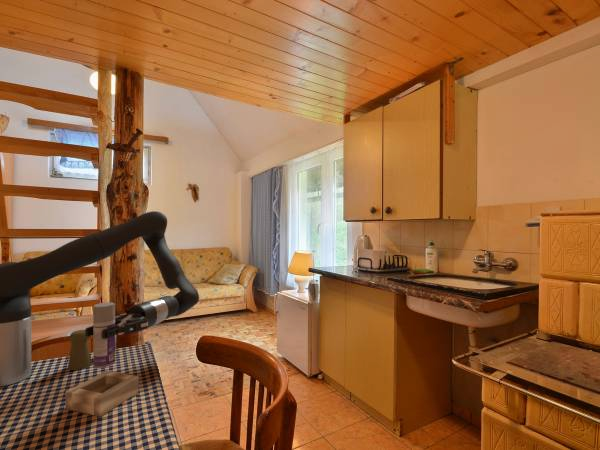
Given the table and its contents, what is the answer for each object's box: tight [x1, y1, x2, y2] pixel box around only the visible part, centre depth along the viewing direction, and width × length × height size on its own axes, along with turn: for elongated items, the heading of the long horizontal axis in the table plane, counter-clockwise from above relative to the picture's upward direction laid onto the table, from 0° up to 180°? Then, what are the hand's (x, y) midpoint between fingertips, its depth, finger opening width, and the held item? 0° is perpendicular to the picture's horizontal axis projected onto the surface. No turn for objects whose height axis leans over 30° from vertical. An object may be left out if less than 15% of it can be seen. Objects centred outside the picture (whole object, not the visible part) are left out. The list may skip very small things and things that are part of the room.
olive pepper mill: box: [67, 329, 92, 371], centre depth 95 cm, size 6×6×11 cm
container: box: [92, 301, 116, 369], centre depth 77 cm, size 5×5×15 cm
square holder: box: [64, 370, 140, 417], centre depth 77 cm, size 11×11×4 cm
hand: (94, 333), depth 74 cm, fingers closed on container, 4 cm apart
